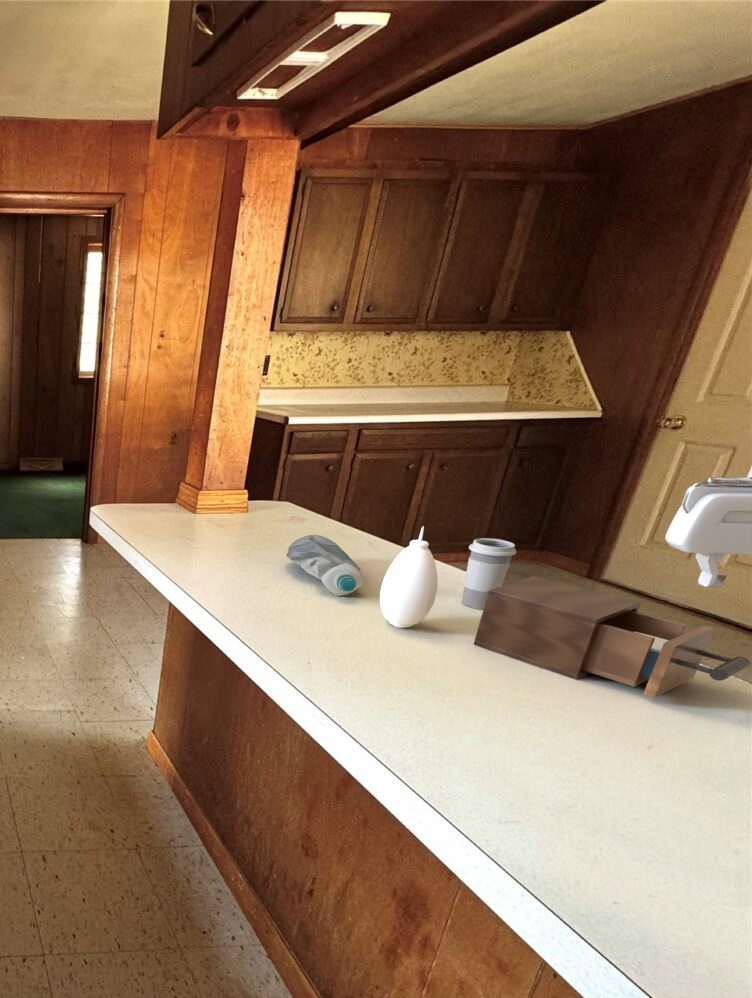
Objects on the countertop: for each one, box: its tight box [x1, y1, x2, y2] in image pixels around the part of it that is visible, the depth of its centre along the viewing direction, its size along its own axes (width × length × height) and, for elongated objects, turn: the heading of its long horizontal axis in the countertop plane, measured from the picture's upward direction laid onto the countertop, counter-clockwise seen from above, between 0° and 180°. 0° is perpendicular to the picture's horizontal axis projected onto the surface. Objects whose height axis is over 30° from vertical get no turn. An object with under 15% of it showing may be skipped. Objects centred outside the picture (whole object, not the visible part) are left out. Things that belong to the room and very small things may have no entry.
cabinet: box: [473, 575, 642, 680], centre depth 102 cm, size 14×13×10 cm
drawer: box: [582, 610, 751, 698], centre depth 93 cm, size 17×11×8 cm, turn 26°
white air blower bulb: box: [379, 525, 439, 629], centre depth 112 cm, size 8×8×18 cm
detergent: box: [286, 534, 365, 597], centre depth 135 cm, size 13×7×25 cm
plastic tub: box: [635, 632, 669, 678], centre depth 93 cm, size 5×5×4 cm
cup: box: [461, 537, 517, 610], centre depth 120 cm, size 7×7×12 cm
